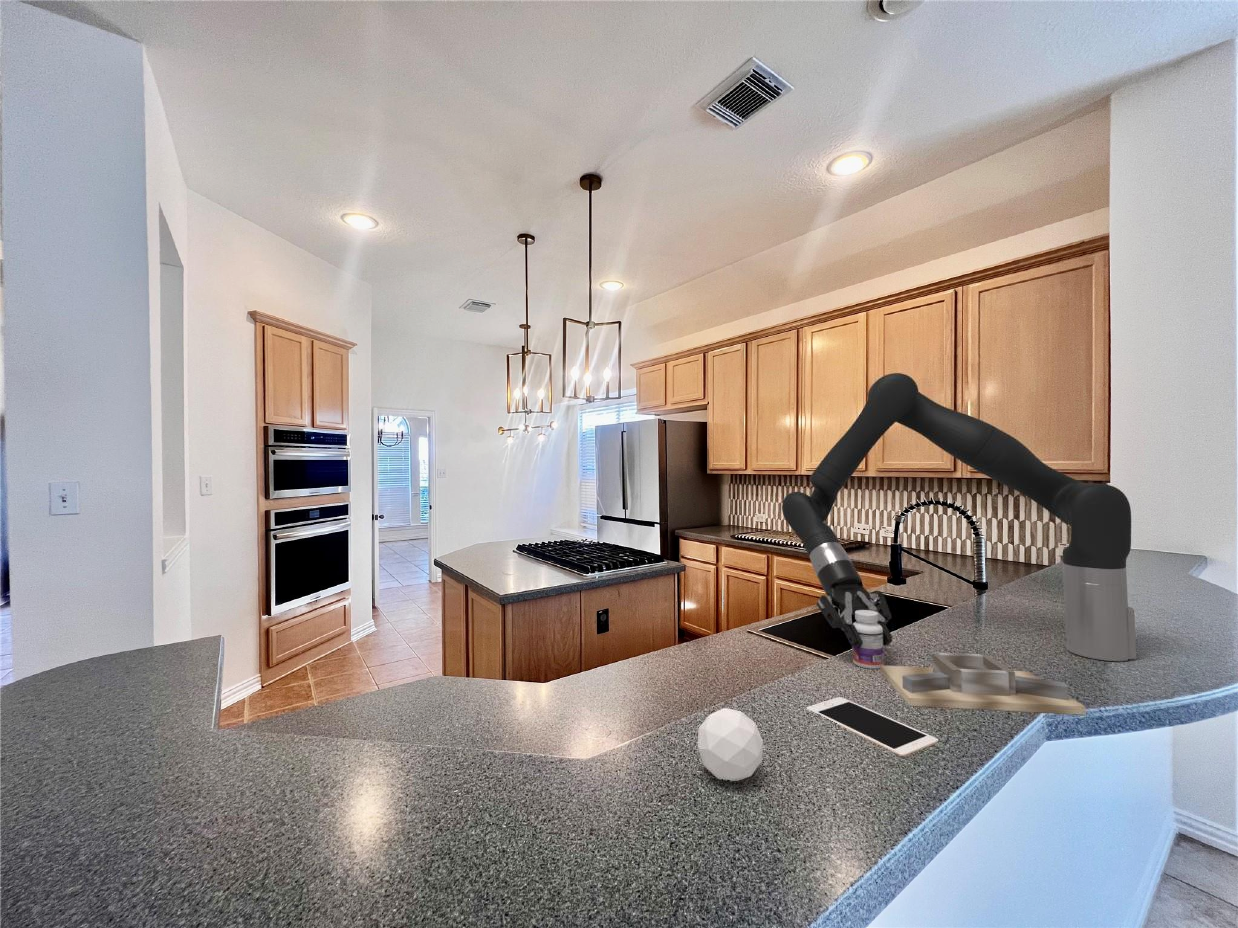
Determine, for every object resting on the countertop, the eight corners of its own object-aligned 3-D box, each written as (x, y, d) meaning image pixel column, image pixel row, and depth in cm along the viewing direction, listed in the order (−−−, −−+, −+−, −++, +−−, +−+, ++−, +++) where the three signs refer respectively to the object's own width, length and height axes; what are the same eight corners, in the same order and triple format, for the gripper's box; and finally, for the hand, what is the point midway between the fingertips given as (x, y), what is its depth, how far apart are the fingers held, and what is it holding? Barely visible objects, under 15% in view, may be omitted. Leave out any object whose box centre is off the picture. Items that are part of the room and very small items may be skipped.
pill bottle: (852, 657, 103) (850, 607, 103) (882, 660, 101) (881, 610, 101) (852, 667, 98) (851, 614, 98) (885, 670, 96) (883, 617, 96)
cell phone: (840, 700, 85) (840, 696, 85) (940, 743, 70) (939, 739, 70) (805, 711, 81) (805, 707, 81) (903, 759, 67) (902, 754, 67)
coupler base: (1028, 678, 91) (1027, 651, 91) (1085, 714, 77) (1084, 682, 77) (880, 672, 95) (879, 646, 95) (909, 705, 81) (908, 674, 81)
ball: (733, 788, 65) (754, 723, 69) (761, 800, 58) (783, 728, 61) (679, 758, 65) (702, 695, 69) (700, 767, 58) (725, 696, 62)
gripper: (809, 560, 106) (847, 637, 94) (873, 556, 108) (918, 631, 96) (796, 581, 111) (830, 657, 99) (858, 577, 113) (898, 651, 101)
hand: (873, 644), depth 97 cm, fingers closed on pill bottle, 5 cm apart
